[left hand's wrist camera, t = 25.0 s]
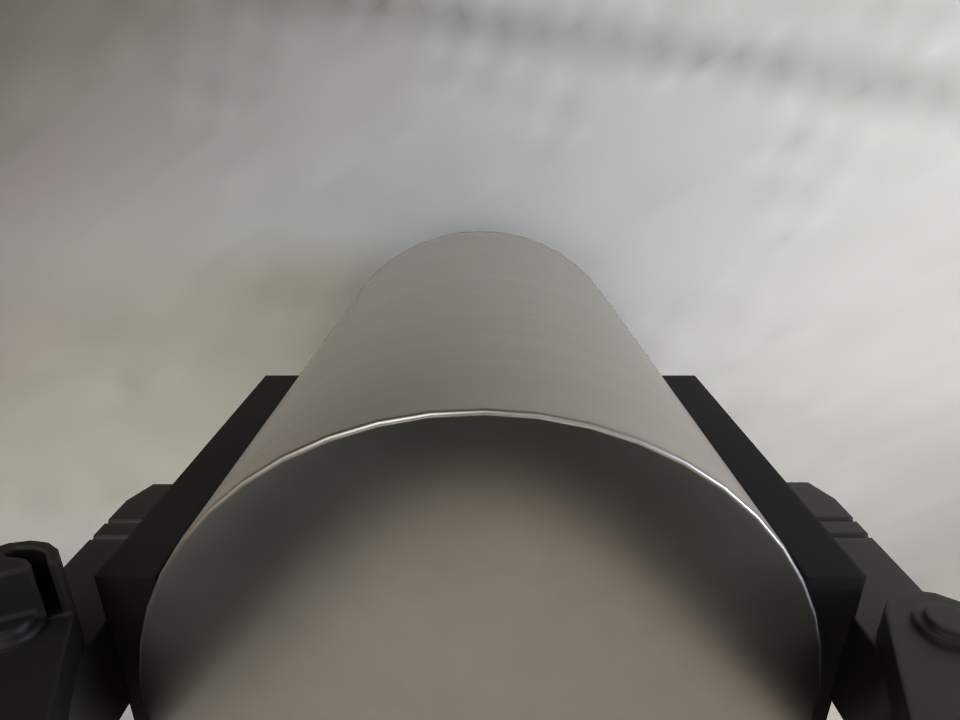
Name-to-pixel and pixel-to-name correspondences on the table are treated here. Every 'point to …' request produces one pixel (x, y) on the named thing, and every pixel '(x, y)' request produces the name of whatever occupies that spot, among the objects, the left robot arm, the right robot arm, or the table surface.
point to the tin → (480, 527)
